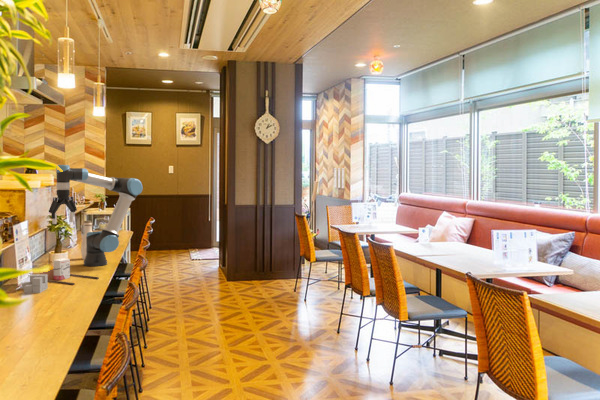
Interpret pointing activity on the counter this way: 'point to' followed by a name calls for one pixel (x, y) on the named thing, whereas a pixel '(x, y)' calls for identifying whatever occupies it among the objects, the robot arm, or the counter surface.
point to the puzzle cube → (36, 283)
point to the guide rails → (73, 283)
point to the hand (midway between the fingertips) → (63, 223)
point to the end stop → (49, 274)
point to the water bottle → (84, 230)
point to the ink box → (61, 269)
